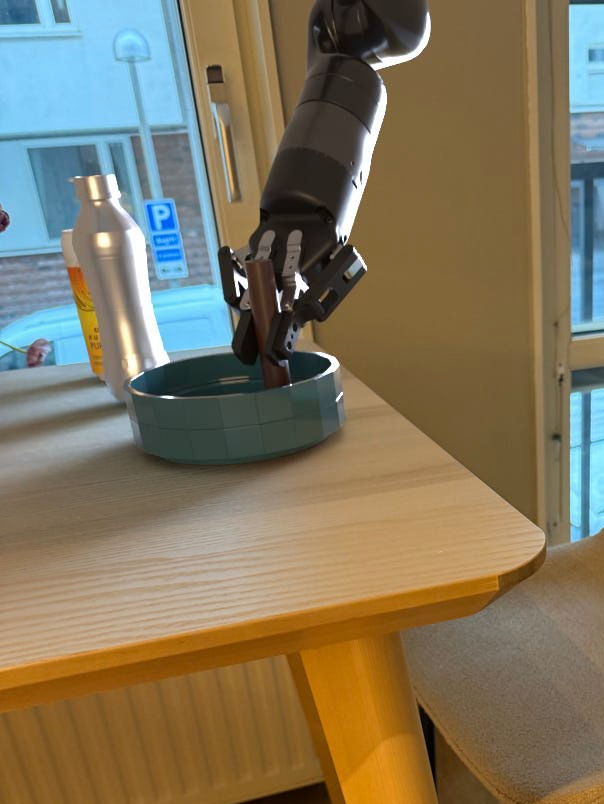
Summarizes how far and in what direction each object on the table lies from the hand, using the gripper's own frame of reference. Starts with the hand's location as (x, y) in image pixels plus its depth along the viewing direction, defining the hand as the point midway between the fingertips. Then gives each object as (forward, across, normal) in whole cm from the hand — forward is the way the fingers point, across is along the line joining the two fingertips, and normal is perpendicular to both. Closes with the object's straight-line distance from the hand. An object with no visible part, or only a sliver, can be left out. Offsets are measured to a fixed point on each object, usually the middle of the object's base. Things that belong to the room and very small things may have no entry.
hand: (258, 359), depth 73 cm
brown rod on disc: (+3, 0, +6) cm, 6 cm away
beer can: (-8, -32, +18) cm, 37 cm away
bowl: (+4, -3, +5) cm, 8 cm away
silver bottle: (-2, -21, +11) cm, 24 cm away
